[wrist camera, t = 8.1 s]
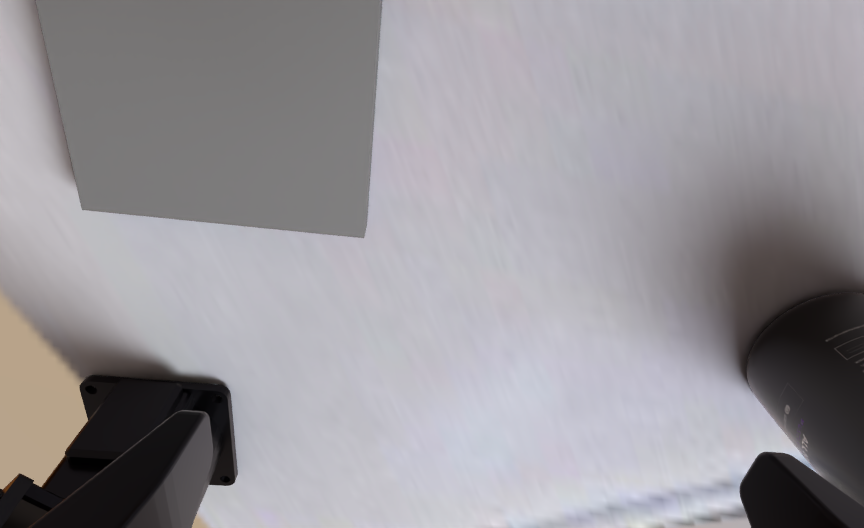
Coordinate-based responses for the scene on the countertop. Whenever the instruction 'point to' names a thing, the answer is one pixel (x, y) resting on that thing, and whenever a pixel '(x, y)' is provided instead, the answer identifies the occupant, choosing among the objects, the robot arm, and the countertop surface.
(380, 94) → the countertop surface
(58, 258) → the countertop surface
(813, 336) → the supplement bottle
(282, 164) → the trivet
